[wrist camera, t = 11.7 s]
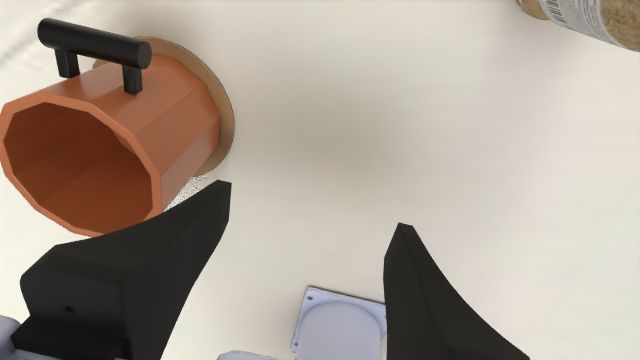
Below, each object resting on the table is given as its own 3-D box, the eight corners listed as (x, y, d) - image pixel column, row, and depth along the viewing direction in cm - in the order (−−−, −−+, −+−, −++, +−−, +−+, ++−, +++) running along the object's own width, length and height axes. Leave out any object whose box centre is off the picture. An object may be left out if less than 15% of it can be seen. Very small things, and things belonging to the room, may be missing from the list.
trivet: (229, 190, 27) (228, 191, 27) (101, 159, 27) (99, 161, 27) (239, 57, 22) (238, 58, 22) (79, 19, 22) (77, 20, 22)
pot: (217, 179, 27) (164, 255, 20) (108, 153, 27) (18, 220, 20) (225, 29, 21) (154, 64, 14) (87, -3, 21) (-49, 15, 14)
